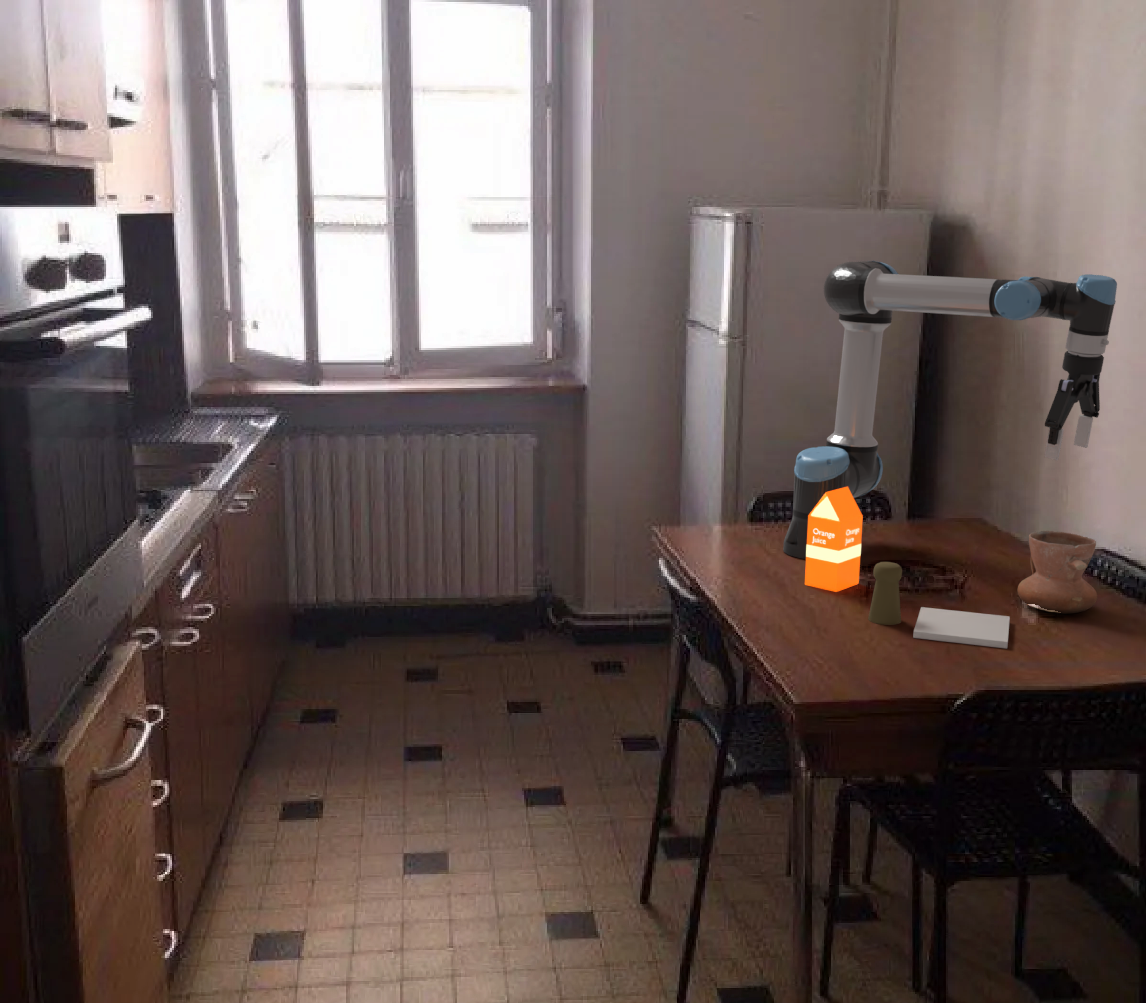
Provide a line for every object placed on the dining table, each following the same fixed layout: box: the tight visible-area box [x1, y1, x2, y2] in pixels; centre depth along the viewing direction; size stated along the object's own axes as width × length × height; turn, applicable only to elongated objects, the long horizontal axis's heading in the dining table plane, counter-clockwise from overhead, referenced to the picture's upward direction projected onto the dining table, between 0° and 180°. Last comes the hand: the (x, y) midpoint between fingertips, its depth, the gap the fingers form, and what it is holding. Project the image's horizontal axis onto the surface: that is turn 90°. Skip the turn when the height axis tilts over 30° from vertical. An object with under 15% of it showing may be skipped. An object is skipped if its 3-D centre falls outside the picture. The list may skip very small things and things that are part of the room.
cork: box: [867, 561, 903, 626], centre depth 234 cm, size 6×6×11 cm
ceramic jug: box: [1017, 530, 1098, 615], centre depth 243 cm, size 18×14×14 cm
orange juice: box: [804, 487, 864, 593], centre depth 257 cm, size 8×9×20 cm
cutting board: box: [912, 606, 1011, 649], centre depth 230 cm, size 16×16×1 cm
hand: (1066, 452), depth 262 cm, fingers open, 13 cm apart
